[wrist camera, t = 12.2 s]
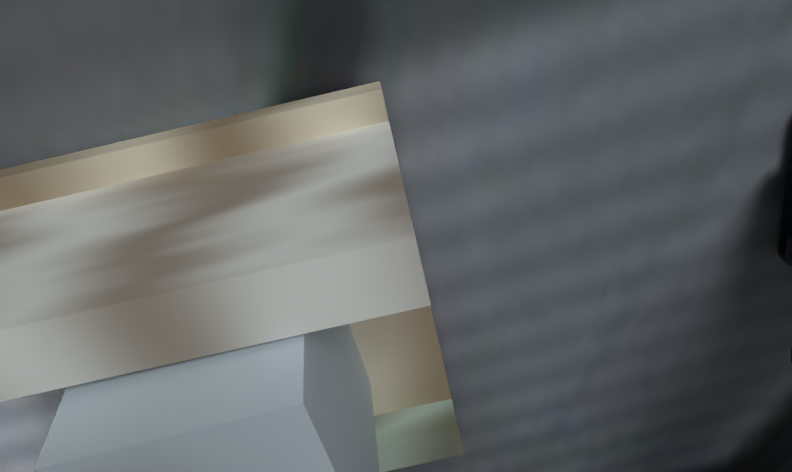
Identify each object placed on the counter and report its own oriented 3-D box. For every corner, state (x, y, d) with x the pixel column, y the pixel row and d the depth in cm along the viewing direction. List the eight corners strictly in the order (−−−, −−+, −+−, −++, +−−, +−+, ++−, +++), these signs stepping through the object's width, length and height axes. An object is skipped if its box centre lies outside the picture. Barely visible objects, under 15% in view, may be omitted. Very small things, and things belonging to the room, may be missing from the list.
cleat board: (380, 81, 20) (406, 197, 14) (460, 435, 29) (495, 590, 23) (-21, 174, 20) (-146, 323, 14) (184, 496, 29) (154, 662, 23)
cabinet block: (305, 206, 21) (303, 403, 14) (377, 399, 26) (399, 610, 19) (120, 254, 21) (33, 469, 15) (226, 436, 26) (198, 657, 20)
